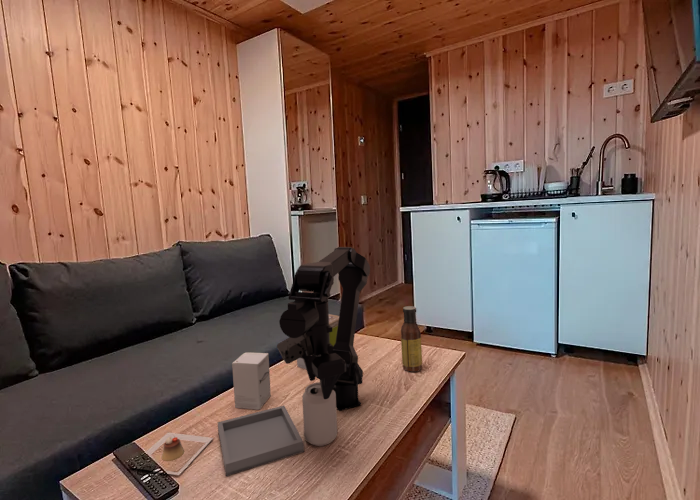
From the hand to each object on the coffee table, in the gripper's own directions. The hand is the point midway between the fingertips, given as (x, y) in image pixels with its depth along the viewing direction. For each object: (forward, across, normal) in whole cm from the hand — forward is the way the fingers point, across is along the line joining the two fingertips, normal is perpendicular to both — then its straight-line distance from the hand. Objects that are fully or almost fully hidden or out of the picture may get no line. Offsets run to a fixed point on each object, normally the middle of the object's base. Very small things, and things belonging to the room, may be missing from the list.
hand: (318, 389), depth 84 cm
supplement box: (+12, -23, -11) cm, 28 cm away
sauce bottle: (+12, -20, +38) cm, 44 cm away
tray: (+12, -5, -13) cm, 18 cm away
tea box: (+12, -38, +14) cm, 42 cm away
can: (+12, 0, 0) cm, 12 cm away
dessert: (+12, -9, -31) cm, 34 cm away
